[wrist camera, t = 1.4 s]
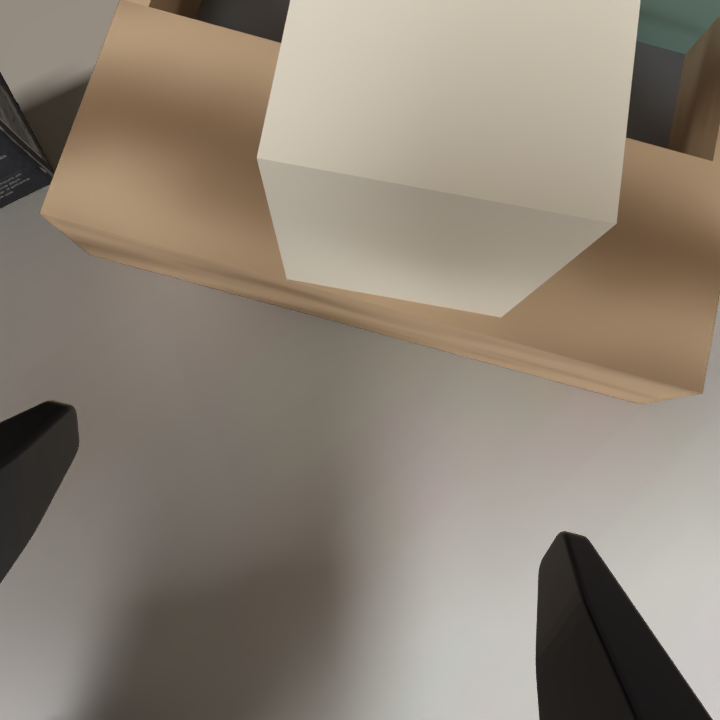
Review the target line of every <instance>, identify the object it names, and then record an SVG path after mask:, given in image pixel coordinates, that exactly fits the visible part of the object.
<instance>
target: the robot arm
mask: <svg viewBox="0 0 720 720" xmlns="http://www.w3.org/2000/svg"><path fill="white" fill-rule="evenodd" d="M78 447H79V432H78V422H77V413H76V410H75V408H74V407H73V406H71V405H69V404H65V403H61V402H57V401H46V402H43V403H41V404H39V405H37V406H35V407H33V408H30V409H28V410H26V411H24V412H22V413H20V414H18V415H15V416H13V417H11V418H9V419H7V420H5V421H3V422H1V423H0V583H1V582H2V580H3V579H4V577H5V576H6V574H7V573H8V571H9V570H10V569H11V567H12V566H13V564H14V563H15V561H16V560H17V558H18V557H19V555H20V554H21V552H22V551H23V549H24V548H25V546H26V545H27V543H28V542H29V540H30V539H31V537H32V536H33V534H34V532H35V531H36V529H37V527H38V525H39V523H40V522H41V520H42V518H43V516H44V514H45V512H46V510H47V508H48V507H49V505H50V503H51V501H52V499H53V497H54V495H55V493H56V491H57V490H58V488H59V486H60V484H61V482H62V480H63V478H64V476H65V474H66V473H67V471H68V469H69V467H70V465H71V463H72V461H73V459H74V457H75V455H76V453H77V451H78ZM536 679H537V693H538V706H539V719H540V720H713V719H712V718H711V717H710V715H709V714H708V712H707V711H706V709H705V708H704V706H703V705H702V703H701V702H700V701H699V699H698V698H697V696H696V695H695V693H694V692H693V690H692V689H691V687H690V686H689V685H688V683H687V682H686V680H685V679H684V677H683V676H682V674H681V673H680V671H679V670H678V669H677V667H676V666H675V664H674V663H673V661H672V660H671V658H670V657H669V655H668V654H667V653H666V651H665V650H664V648H663V647H662V645H661V644H660V642H659V641H658V639H657V638H656V637H655V635H654V634H653V632H652V631H651V629H650V628H649V626H648V625H647V624H646V622H645V621H644V619H643V618H642V616H641V615H640V613H639V612H638V610H637V609H636V608H635V606H634V605H633V603H632V602H631V600H630V599H629V597H628V596H627V594H626V593H625V592H624V590H623V589H622V587H621V586H620V584H619V583H618V581H617V580H616V578H615V577H614V576H613V574H612V573H611V571H610V570H609V568H608V567H607V565H606V564H605V562H604V561H603V560H602V558H601V557H600V555H599V554H598V552H597V551H596V549H595V548H594V546H593V545H592V544H591V542H590V541H589V540H588V539H587V538H586V537H584V536H582V535H578V534H574V533H570V532H566V531H562V532H560V533H559V534H558V535H557V536H556V538H555V540H554V541H553V543H552V544H551V546H550V547H549V549H548V551H547V552H546V554H545V555H544V557H543V559H542V561H541V563H540V567H539V575H538V602H537V629H536Z"/></svg>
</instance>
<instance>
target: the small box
mask: <svg viewBox="0 0 720 720" xmlns="http://www.w3.org/2000/svg"><path fill="white" fill-rule="evenodd" d="M53 176H54V171H53V169H52V168H51V166H50V164H49V162H48V161H47V159H46V156H45V154H44V152H43V151H42V149H41V147H40V145H39V143H38V141H37V139H36V138H35V136H34V134H33V132H32V130H31V128H30V126H29V125H28V123H27V121H26V119H25V117H24V115H23V113H22V111H21V110H20V107H19V104H18V103H17V102H16V100H15V99H14V97H13V95H12V93H11V91H10V89H9V87H8V85H7V84H6V82H5V80H4V78H3V76H2V75H1V73H0V208H1V207H3V206H5V205H7V204H9V203H11V202H13V201H15V200H17V199H19V198H21V197H23V196H25V195H27V194H29V193H31V192H33V191H35V190H37V189H39V188H41V187H43V186H45V185H48V184H49V183H51V181H52V179H53Z"/></svg>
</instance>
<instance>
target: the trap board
mask: <svg viewBox="0 0 720 720" xmlns="http://www.w3.org/2000/svg"><path fill="white" fill-rule="evenodd" d="M289 4H290V0H120V1H119V4H118V6H117V9H116V12H115V14H114V17H113V19H112V22H111V25H110V27H109V30H108V33H107V35H106V38H105V41H104V44H103V46H102V49H101V52H100V54H99V57H98V59H97V62H96V65H95V67H94V70H93V72H92V75H91V78H90V80H89V83H88V86H87V88H86V91H85V94H84V96H83V99H82V102H81V104H80V107H79V110H78V112H77V115H76V118H75V120H74V123H73V126H72V128H71V131H70V134H69V136H68V139H67V142H66V144H65V147H64V150H63V152H62V155H61V157H60V160H59V163H58V165H57V168H56V171H55V173H54V176H53V179H52V181H51V184H50V187H49V189H48V192H47V195H46V197H45V200H44V203H43V205H42V208H41V211H40V214H41V215H42V216H43V217H44V218H46V219H47V220H48V221H49V222H50V223H52V224H53V225H54V226H55V227H56V228H58V229H59V230H60V231H61V232H62V233H64V234H65V235H66V236H67V237H68V238H70V239H71V240H72V241H73V242H74V243H76V244H77V245H78V246H79V247H80V248H82V249H83V250H84V251H85V252H86V253H88V254H89V255H93V256H96V257H100V258H104V259H107V260H111V261H115V262H119V263H122V264H126V265H130V266H133V267H137V268H141V269H144V270H148V271H152V272H155V273H159V274H163V275H166V276H170V277H174V278H177V279H181V280H185V281H189V282H192V283H196V284H200V285H203V286H207V287H211V288H214V289H218V290H222V291H225V292H229V293H233V294H236V295H240V296H244V297H247V298H251V299H255V300H258V301H262V302H266V303H270V304H273V305H277V306H281V307H284V308H288V309H292V310H295V311H299V312H303V313H306V314H310V315H314V316H317V317H321V318H325V319H328V320H332V321H336V322H340V323H343V324H347V325H351V326H354V327H358V328H362V329H365V330H369V331H373V332H376V333H380V334H384V335H387V336H391V337H395V338H398V339H402V340H406V341H410V342H413V343H417V344H421V345H424V346H428V347H432V348H435V349H439V350H443V351H446V352H450V353H454V354H457V355H461V356H465V357H468V358H472V359H476V360H480V361H483V362H487V363H491V364H494V365H498V366H502V367H505V368H509V369H513V370H516V371H520V372H524V373H527V374H531V375H535V376H538V377H542V378H546V379H549V380H553V381H557V382H561V383H564V384H568V385H572V386H575V387H579V388H583V389H586V390H590V391H594V392H597V393H601V394H605V395H608V396H612V397H616V398H619V399H623V400H627V401H631V402H634V403H638V404H643V403H649V402H655V401H661V400H667V399H673V398H679V397H685V396H691V395H697V394H702V393H703V388H704V382H705V376H706V370H707V364H708V359H709V353H710V347H711V341H712V335H713V329H714V324H715V318H716V312H717V306H718V300H719V295H720V0H640V10H639V19H638V28H637V38H636V47H635V56H634V66H633V75H632V84H631V94H630V103H629V112H628V122H627V131H626V140H625V150H624V159H623V168H622V178H621V187H620V196H619V206H618V215H617V224H616V225H614V226H613V227H612V228H611V229H610V230H608V231H607V232H606V233H605V234H603V235H602V236H601V237H600V238H598V239H597V240H596V241H595V242H594V243H592V244H591V245H590V246H589V247H587V248H586V249H585V250H584V251H582V252H581V253H580V254H579V255H578V256H576V257H575V258H574V259H573V260H571V261H570V262H569V263H568V264H566V265H565V266H564V267H563V268H561V269H560V270H559V271H558V272H557V273H555V274H554V275H553V276H552V277H550V278H549V279H548V280H547V281H545V282H544V283H543V284H542V285H541V286H539V287H538V288H537V289H536V290H534V291H533V292H532V293H531V294H529V295H528V296H527V297H526V298H525V299H523V300H522V301H521V302H520V303H518V304H517V305H516V306H515V307H513V308H512V309H511V310H510V311H509V312H507V313H506V314H505V315H504V316H502V317H495V316H490V315H484V314H478V313H473V312H467V311H462V310H456V309H450V308H445V307H439V306H434V305H428V304H423V303H417V302H411V301H406V300H400V299H395V298H389V297H384V296H378V295H372V294H367V293H361V292H356V291H350V290H344V289H339V288H333V287H328V286H322V285H317V284H311V283H305V282H300V281H294V280H289V279H287V278H286V274H285V270H284V266H283V262H282V258H281V254H280V250H279V246H278V242H277V238H276V234H275V230H274V226H273V222H272V218H271V214H270V210H269V206H268V202H267V198H266V194H265V190H264V186H263V182H262V177H261V173H260V169H259V165H258V161H257V154H258V149H259V144H260V140H261V135H262V130H263V126H264V121H265V116H266V112H267V107H268V102H269V98H270V93H271V88H272V84H273V79H274V74H275V70H276V65H277V60H278V56H279V51H280V46H281V42H282V37H283V32H284V28H285V23H286V18H287V14H288V9H289Z"/></svg>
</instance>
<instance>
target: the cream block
mask: <svg viewBox="0 0 720 720" xmlns="http://www.w3.org/2000/svg"><path fill="white" fill-rule="evenodd" d="M639 10H640V0H290V4H289V9H288V14H287V18H286V23H285V28H284V32H283V37H282V42H281V46H280V51H279V56H278V60H277V65H276V70H275V74H274V79H273V84H272V88H271V93H270V98H269V102H268V107H267V112H266V116H265V121H264V126H263V130H262V135H261V140H260V144H259V149H258V154H257V161H258V165H259V169H260V173H261V177H262V182H263V186H264V190H265V194H266V198H267V202H268V206H269V210H270V214H271V218H272V222H273V226H274V230H275V234H276V238H277V242H278V246H279V250H280V254H281V258H282V262H283V266H284V270H285V274H286V278H287V279H289V280H294V281H300V282H305V283H311V284H317V285H322V286H328V287H333V288H339V289H344V290H350V291H356V292H361V293H367V294H372V295H378V296H384V297H389V298H395V299H400V300H406V301H411V302H417V303H423V304H428V305H434V306H439V307H445V308H450V309H456V310H462V311H467V312H473V313H478V314H484V315H490V316H495V317H502V316H504V315H505V314H506V313H507V312H509V311H510V310H511V309H512V308H513V307H515V306H516V305H517V304H518V303H520V302H521V301H522V300H523V299H525V298H526V297H527V296H528V295H529V294H531V293H532V292H533V291H534V290H536V289H537V288H538V287H539V286H541V285H542V284H543V283H544V282H545V281H547V280H548V279H549V278H550V277H552V276H553V275H554V274H555V273H557V272H558V271H559V270H560V269H561V268H563V267H564V266H565V265H566V264H568V263H569V262H570V261H571V260H573V259H574V258H575V257H576V256H578V255H579V254H580V253H581V252H582V251H584V250H585V249H586V248H587V247H589V246H590V245H591V244H592V243H594V242H595V241H596V240H597V239H598V238H600V237H601V236H602V235H603V234H605V233H606V232H607V231H608V230H610V229H611V228H612V227H613V226H614V225H616V224H617V215H618V206H619V196H620V187H621V178H622V168H623V159H624V150H625V140H626V131H627V122H628V112H629V103H630V94H631V84H632V75H633V66H634V56H635V47H636V38H637V28H638V19H639Z"/></svg>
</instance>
